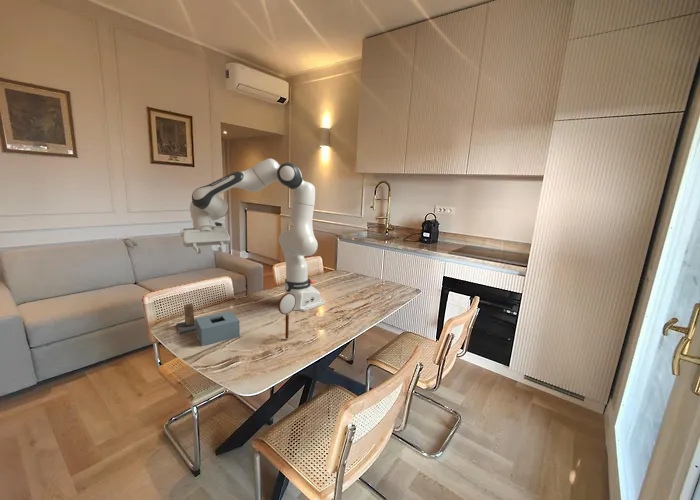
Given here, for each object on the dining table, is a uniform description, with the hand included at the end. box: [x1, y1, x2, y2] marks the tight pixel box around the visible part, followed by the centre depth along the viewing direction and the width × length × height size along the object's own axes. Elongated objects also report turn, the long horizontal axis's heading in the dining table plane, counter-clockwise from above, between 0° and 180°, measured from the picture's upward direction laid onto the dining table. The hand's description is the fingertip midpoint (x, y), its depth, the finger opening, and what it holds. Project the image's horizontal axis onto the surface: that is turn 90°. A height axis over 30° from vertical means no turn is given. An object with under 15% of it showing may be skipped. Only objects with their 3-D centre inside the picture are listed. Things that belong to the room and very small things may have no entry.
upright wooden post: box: [183, 303, 195, 327], centre depth 125 cm, size 3×3×9 cm
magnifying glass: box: [277, 293, 296, 341], centre depth 118 cm, size 9×2×20 cm, turn 142°
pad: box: [175, 319, 196, 335], centre depth 126 cm, size 9×9×1 cm
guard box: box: [194, 310, 241, 347], centre depth 120 cm, size 14×11×7 cm
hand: (210, 251), depth 136 cm, fingers open, 8 cm apart
